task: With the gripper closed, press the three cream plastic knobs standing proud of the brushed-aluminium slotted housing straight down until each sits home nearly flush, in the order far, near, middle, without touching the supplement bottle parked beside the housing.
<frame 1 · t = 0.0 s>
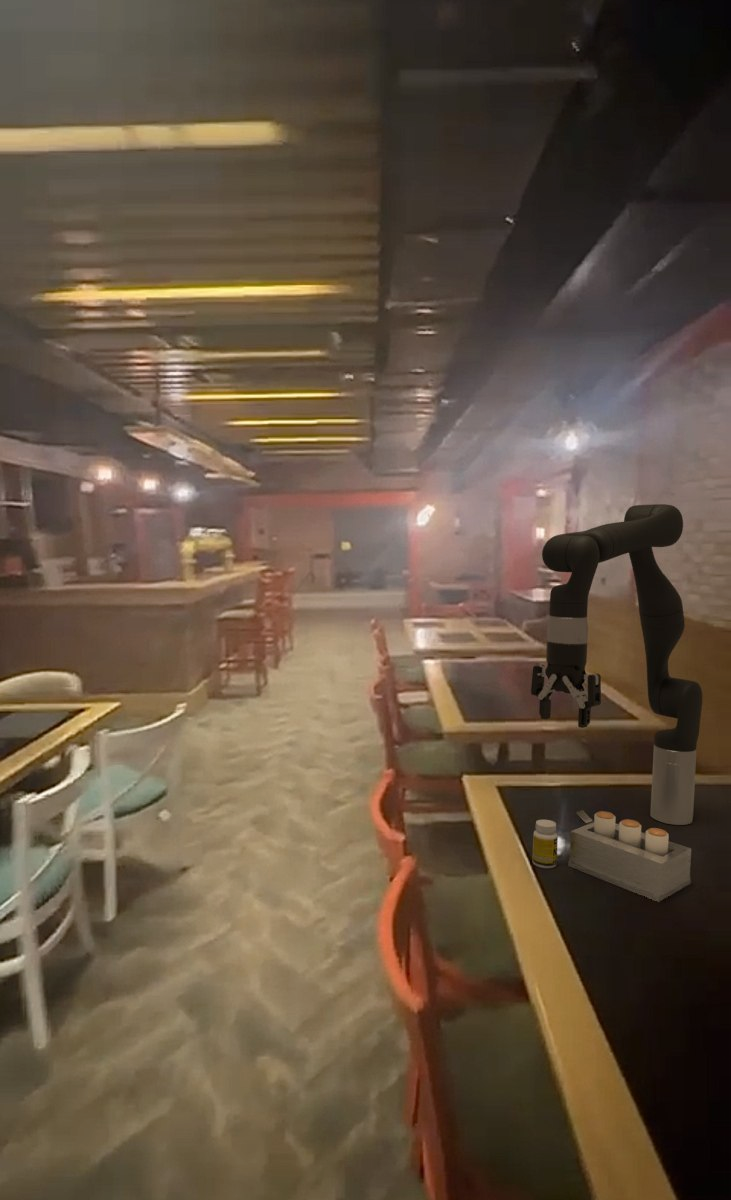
hand: (563, 722, 143), 29 cm above the table, fingers open, 8 cm apart
supplement bottle: (544, 864, 148), on the table
housing: (627, 874, 144), on the table
knob c: (656, 846, 139), point 7 cm above the table, slide at 0.0 cm
fork: (608, 830, 168), on the table
knob b: (629, 837, 143), point 7 cm above the table, slide at 0.0 cm
knob a: (604, 828, 147), point 7 cm above the table, slide at 0.0 cm
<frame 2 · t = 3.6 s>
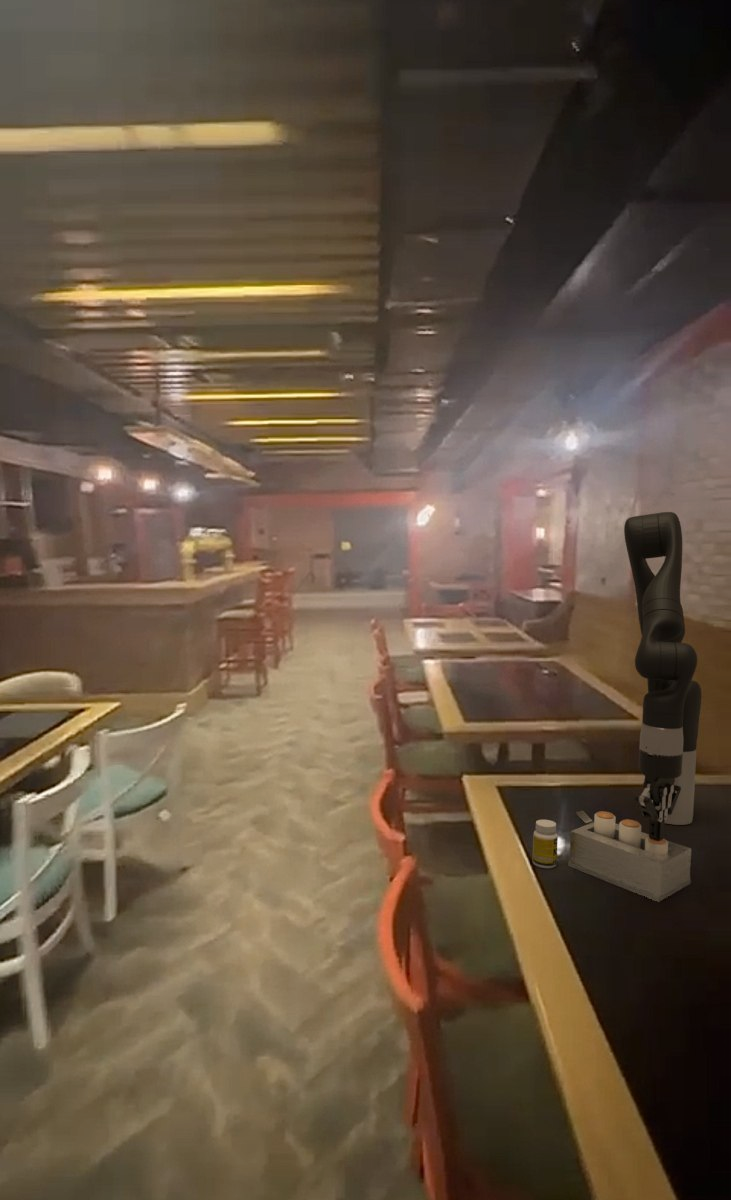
hand: (656, 839, 139), 9 cm above the table, fingers closed
knob c: (656, 854, 139), point 6 cm above the table, slide at 1.5 cm, touching gripper
everything else where it was.
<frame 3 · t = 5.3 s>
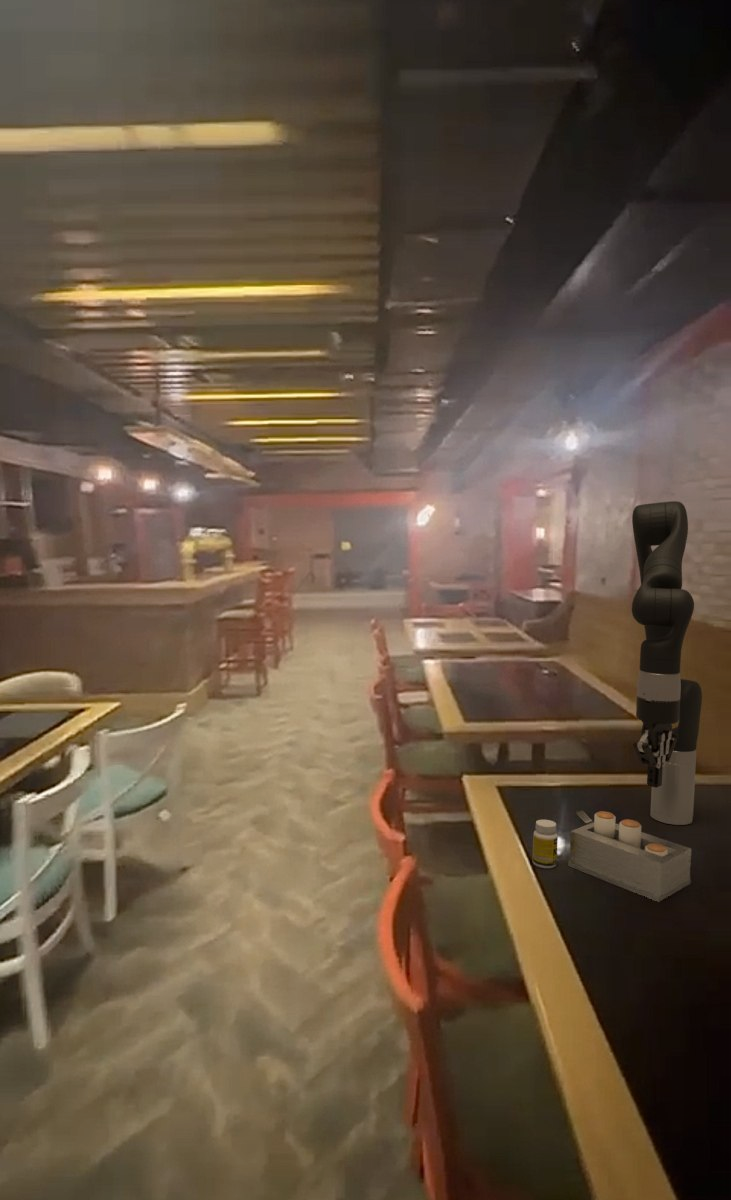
hand: (654, 785, 139), 19 cm above the table, fingers closed
knob c: (655, 862, 139), point 4 cm above the table, slide at 3.0 cm
everything else where it was.
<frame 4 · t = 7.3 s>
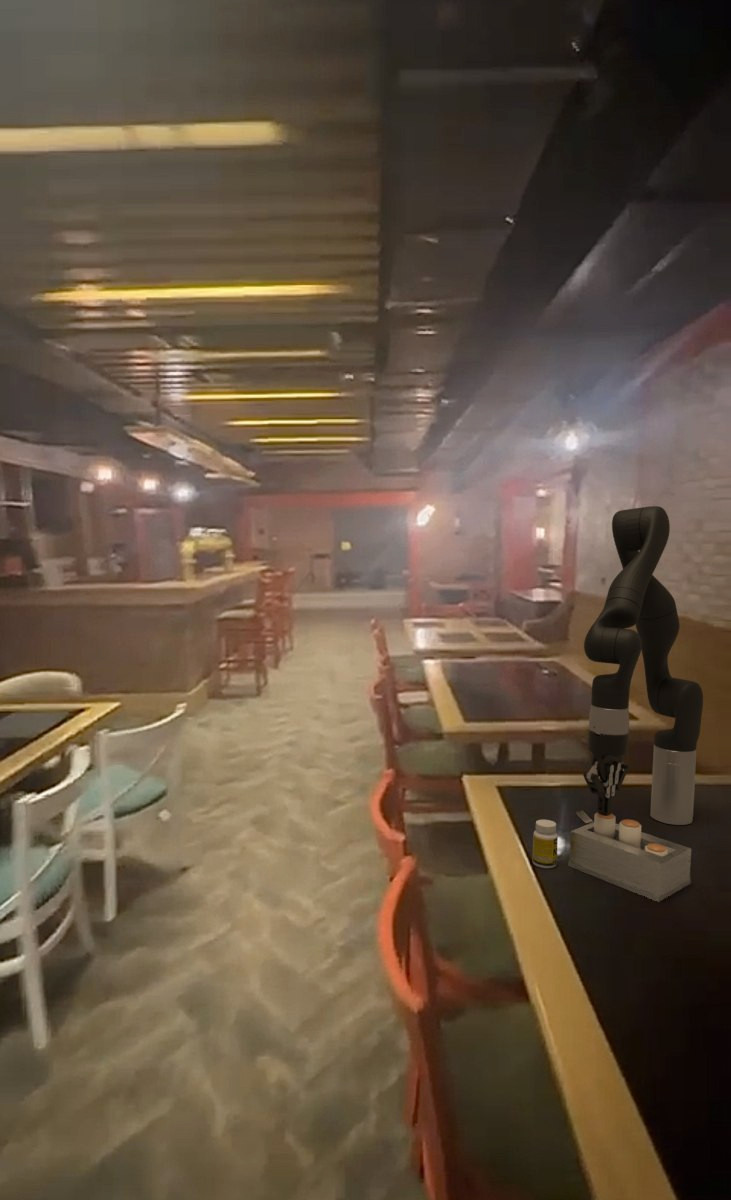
hand: (604, 814, 147), 10 cm above the table, fingers closed
knob a: (604, 828, 147), point 7 cm above the table, slide at 0.0 cm, touching gripper
everything else where it was.
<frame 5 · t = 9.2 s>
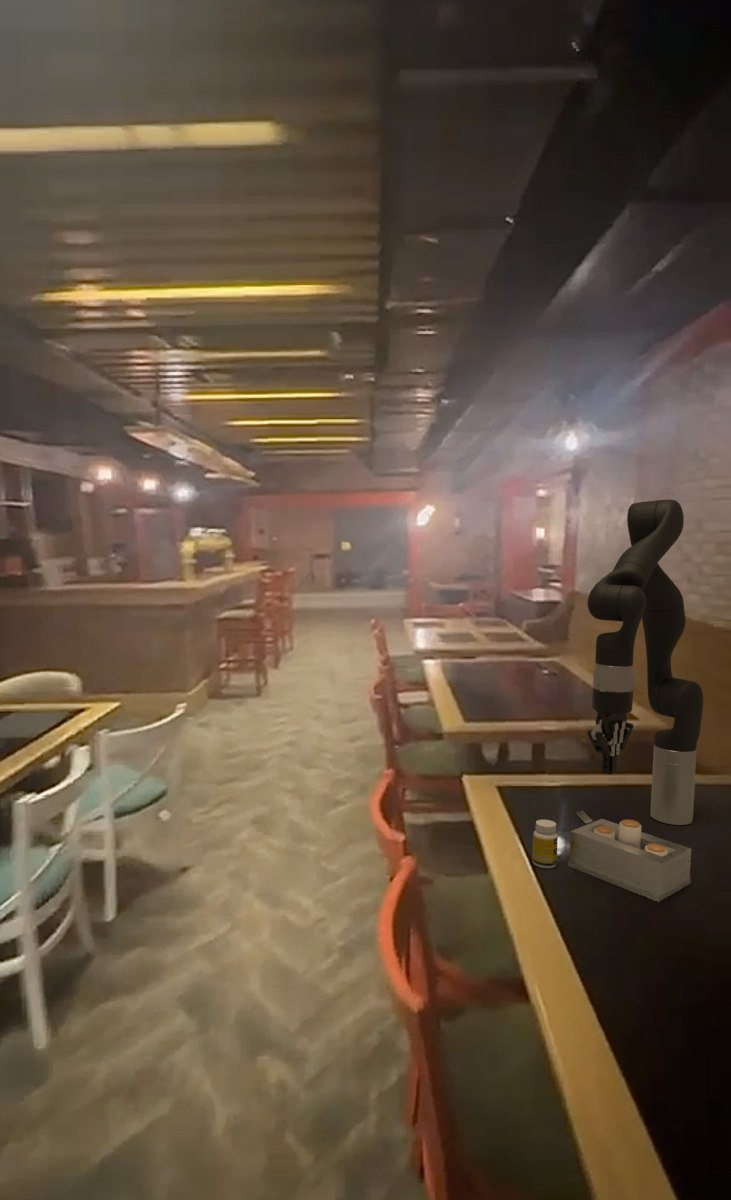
hand: (609, 773, 146), 19 cm above the table, fingers closed
knob a: (603, 843, 148), point 4 cm above the table, slide at 3.0 cm
everything else where it was.
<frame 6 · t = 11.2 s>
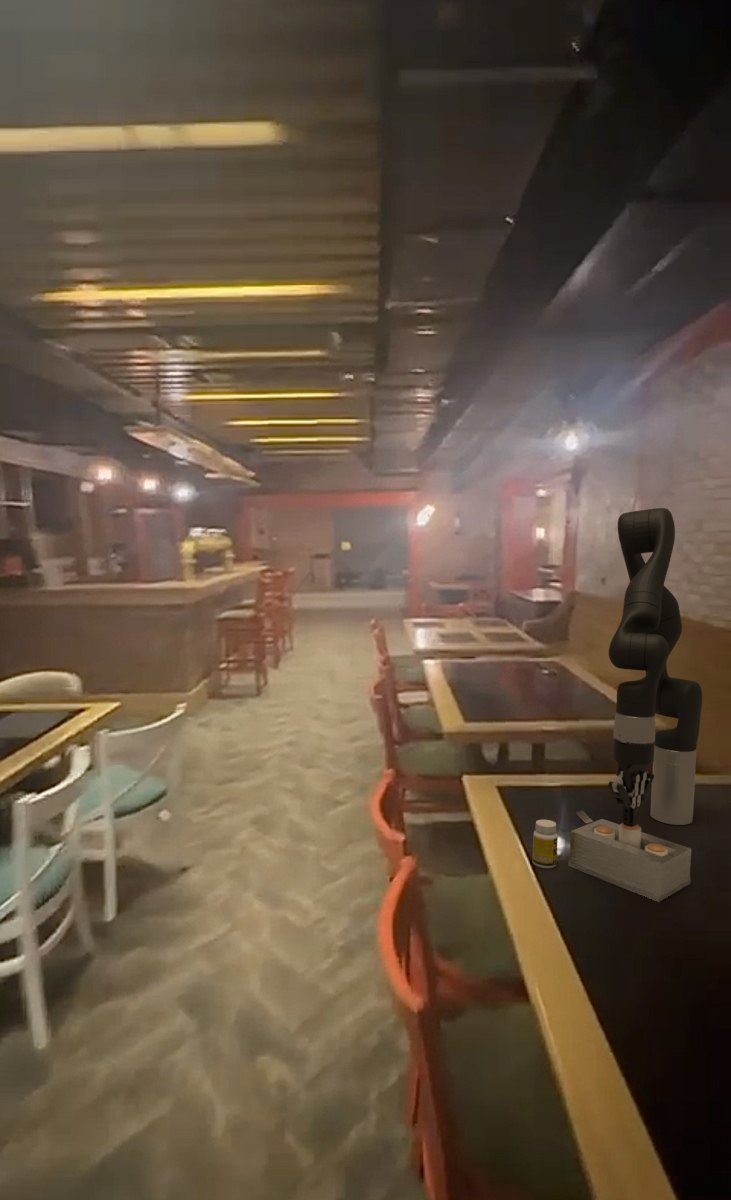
hand: (629, 824, 143), 10 cm above the table, fingers closed
knob b: (629, 840, 143), point 7 cm above the table, slide at 0.5 cm, touching gripper
everything else where it was.
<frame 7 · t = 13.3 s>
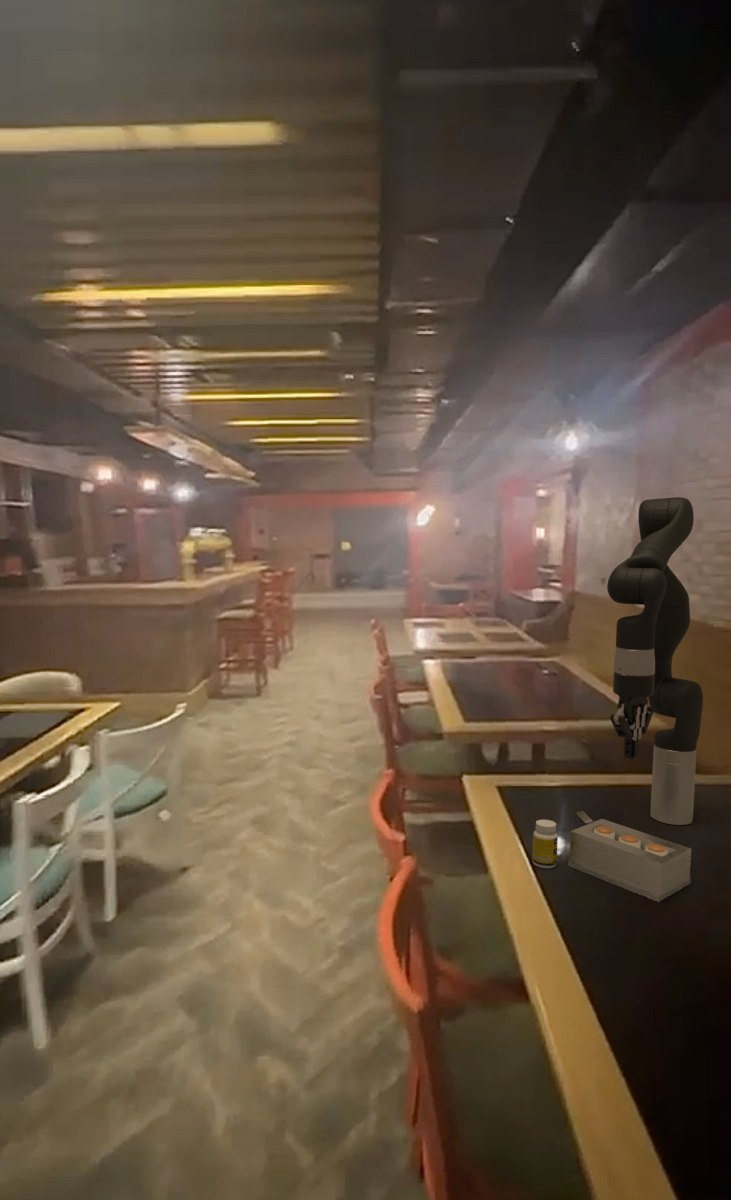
hand: (631, 757, 145), 22 cm above the table, fingers closed
knob b: (629, 852, 143), point 4 cm above the table, slide at 3.0 cm
everything else where it was.
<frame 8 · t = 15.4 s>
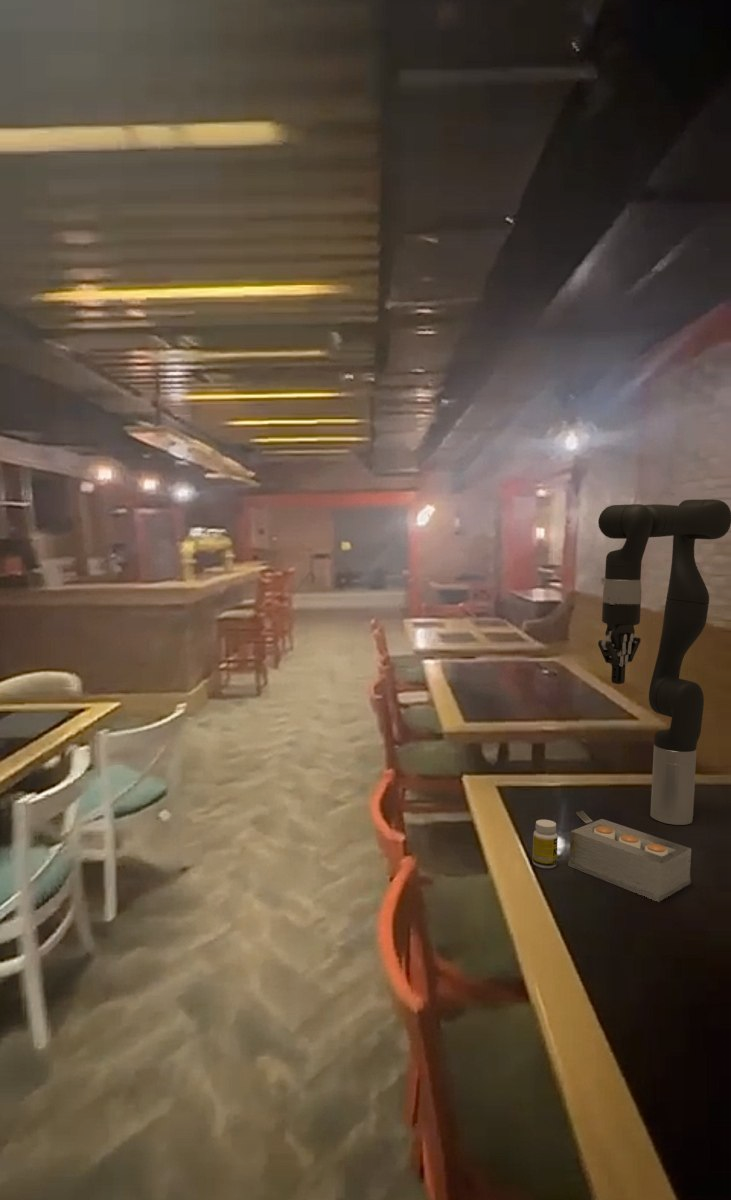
hand: (617, 683, 155), 35 cm above the table, fingers closed
nothing on the table moved.
at the end: knob a slide at 3.0 cm; knob b slide at 3.0 cm; knob c slide at 3.0 cm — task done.
